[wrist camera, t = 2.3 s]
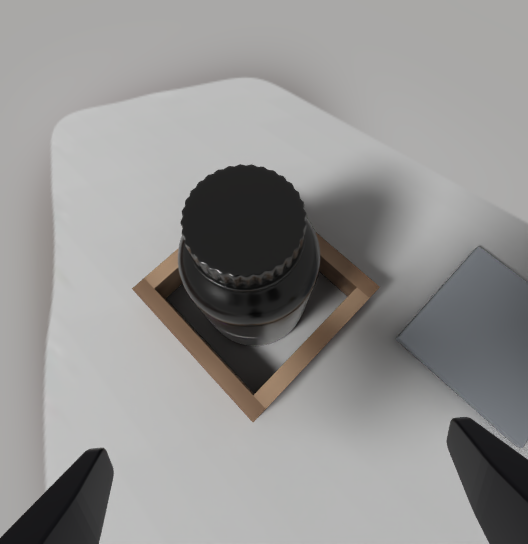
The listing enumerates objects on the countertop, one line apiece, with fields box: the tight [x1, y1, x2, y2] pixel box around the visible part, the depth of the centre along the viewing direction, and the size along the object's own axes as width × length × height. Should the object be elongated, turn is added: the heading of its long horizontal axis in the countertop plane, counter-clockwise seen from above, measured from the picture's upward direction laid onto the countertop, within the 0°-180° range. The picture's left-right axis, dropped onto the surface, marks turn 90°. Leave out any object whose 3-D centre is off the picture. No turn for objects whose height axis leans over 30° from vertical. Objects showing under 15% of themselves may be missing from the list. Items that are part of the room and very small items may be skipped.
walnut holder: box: [132, 232, 380, 422], centre depth 23 cm, size 11×11×2 cm
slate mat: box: [396, 246, 528, 448], centre depth 23 cm, size 9×9×1 cm
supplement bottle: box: [178, 164, 320, 346], centre depth 19 cm, size 7×7×12 cm
